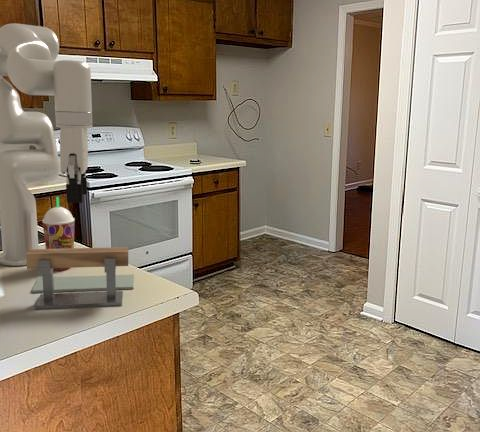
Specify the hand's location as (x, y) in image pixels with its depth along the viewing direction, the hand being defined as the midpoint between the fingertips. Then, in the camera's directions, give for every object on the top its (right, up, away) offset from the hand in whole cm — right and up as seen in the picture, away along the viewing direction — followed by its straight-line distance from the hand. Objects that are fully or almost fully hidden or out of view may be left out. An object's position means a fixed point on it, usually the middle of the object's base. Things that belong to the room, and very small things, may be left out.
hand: (77, 198), depth 110 cm
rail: (-1, -15, +4) cm, 16 cm away
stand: (-1, -24, +6) cm, 25 cm away
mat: (-3, -21, +16) cm, 27 cm away
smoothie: (-14, -19, +28) cm, 36 cm away
